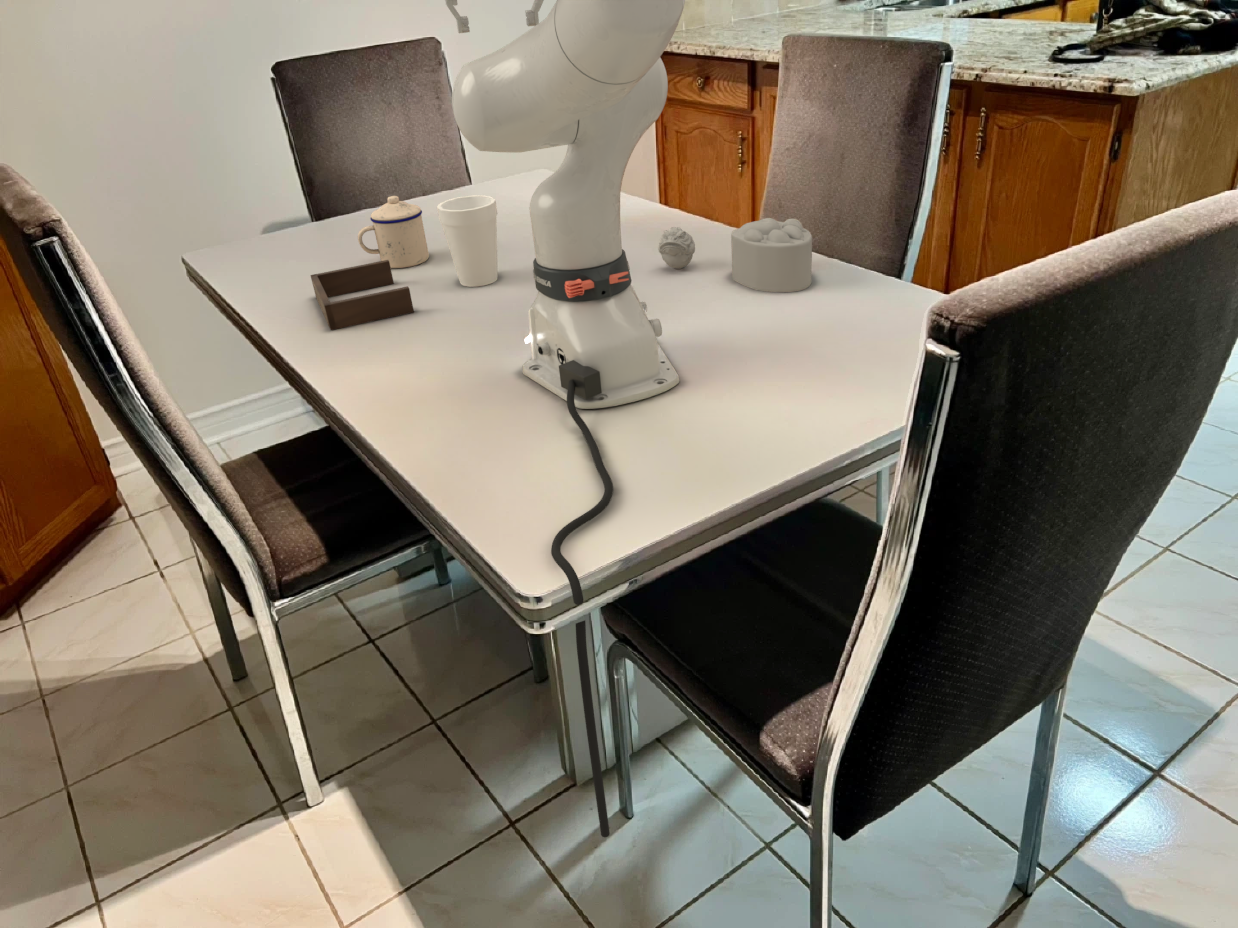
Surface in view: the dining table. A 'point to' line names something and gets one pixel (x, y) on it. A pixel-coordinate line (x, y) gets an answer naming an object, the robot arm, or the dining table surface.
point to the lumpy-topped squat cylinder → (772, 255)
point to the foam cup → (471, 237)
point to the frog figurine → (676, 247)
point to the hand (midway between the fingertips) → (498, 28)
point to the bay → (362, 306)
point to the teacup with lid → (398, 234)
